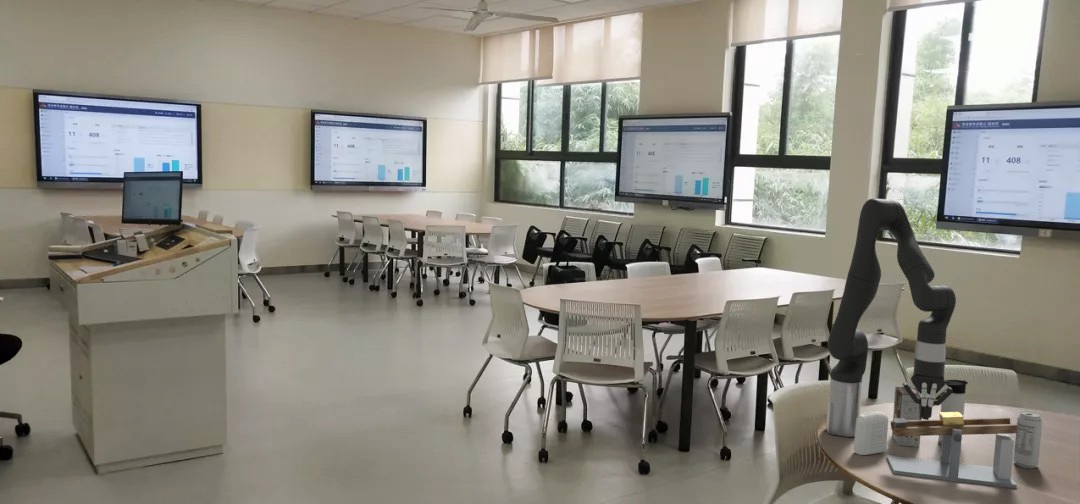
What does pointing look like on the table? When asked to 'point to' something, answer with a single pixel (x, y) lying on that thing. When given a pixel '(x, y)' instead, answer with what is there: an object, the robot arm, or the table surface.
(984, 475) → the stand
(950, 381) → the travel mug
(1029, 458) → the energy drink can
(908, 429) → the beam
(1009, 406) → the table surface
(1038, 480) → the table surface
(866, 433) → the photo printer
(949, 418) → the gold metal cube
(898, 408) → the coffee box
